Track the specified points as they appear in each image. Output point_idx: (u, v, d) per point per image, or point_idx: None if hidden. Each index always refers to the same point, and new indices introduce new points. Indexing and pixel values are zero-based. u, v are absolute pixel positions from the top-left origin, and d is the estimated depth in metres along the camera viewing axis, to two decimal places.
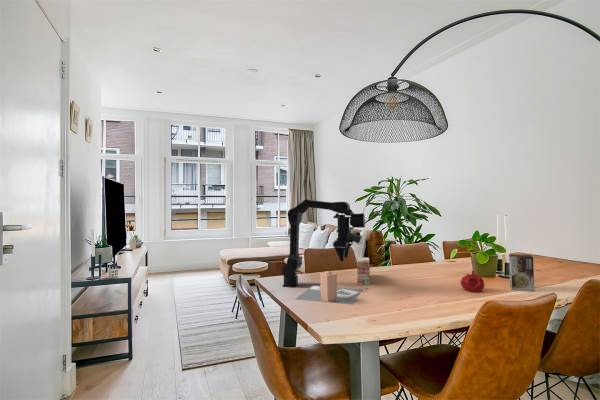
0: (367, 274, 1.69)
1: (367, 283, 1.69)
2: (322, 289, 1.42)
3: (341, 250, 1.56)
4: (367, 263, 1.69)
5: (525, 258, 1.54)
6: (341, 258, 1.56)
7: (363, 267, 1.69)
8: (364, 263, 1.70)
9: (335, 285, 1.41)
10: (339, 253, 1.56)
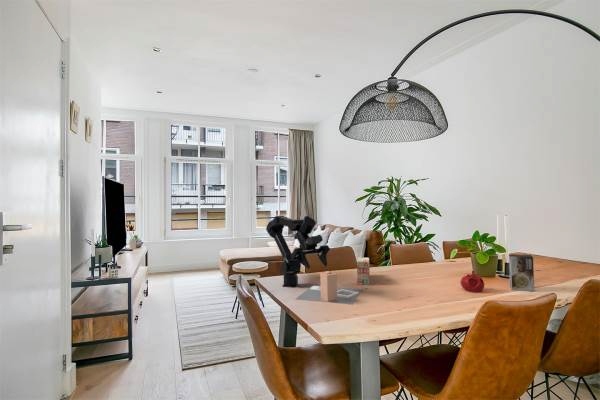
0: (367, 274, 1.69)
1: (367, 283, 1.69)
2: (322, 289, 1.42)
3: (302, 259, 1.49)
4: (367, 263, 1.69)
5: (525, 258, 1.54)
6: (307, 266, 1.47)
7: (363, 267, 1.70)
8: (364, 263, 1.70)
9: (335, 285, 1.41)
10: (303, 262, 1.49)
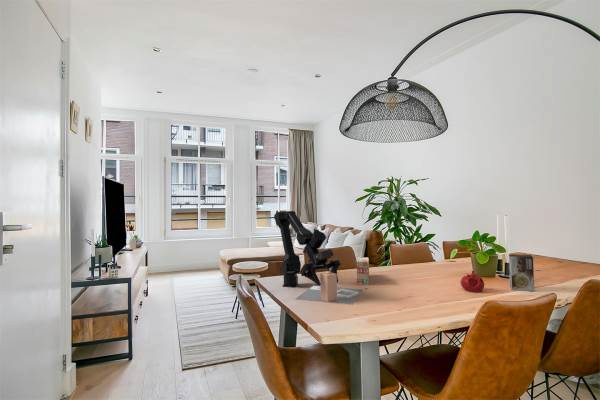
0: (366, 274, 1.70)
1: (366, 283, 1.70)
2: (322, 289, 1.42)
3: (312, 275, 1.42)
4: (366, 263, 1.70)
5: (525, 258, 1.54)
6: (317, 282, 1.40)
7: (363, 267, 1.70)
8: (363, 263, 1.70)
9: (335, 285, 1.41)
10: (313, 279, 1.42)
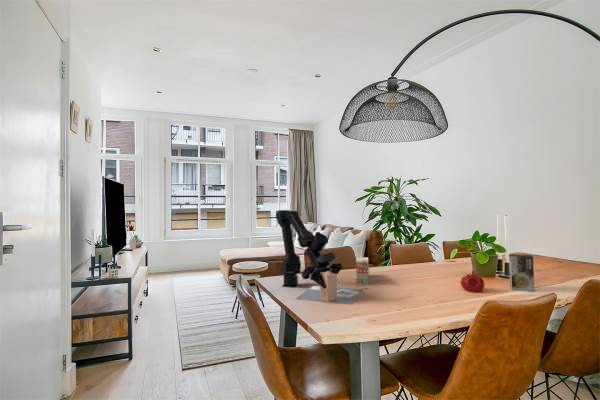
0: (366, 274, 1.70)
1: (366, 283, 1.70)
2: (322, 289, 1.42)
3: (318, 277, 1.42)
4: (366, 263, 1.70)
5: (525, 258, 1.54)
6: (322, 285, 1.40)
7: (362, 267, 1.70)
8: (363, 263, 1.70)
9: (335, 285, 1.41)
10: (318, 281, 1.42)
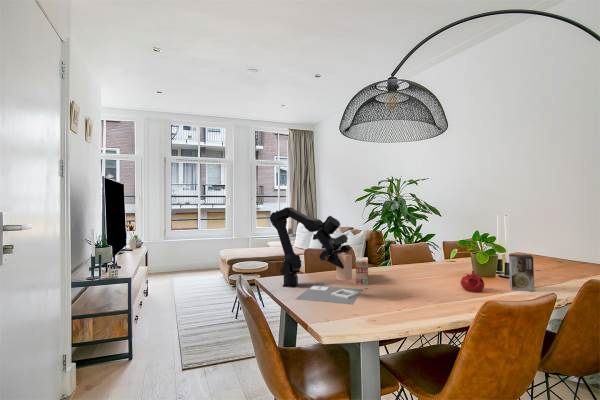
0: (365, 274, 1.70)
1: (366, 283, 1.70)
2: (339, 270, 1.48)
3: (334, 259, 1.48)
4: (365, 263, 1.70)
5: (525, 258, 1.54)
6: (340, 266, 1.46)
7: (362, 267, 1.70)
8: (363, 263, 1.71)
9: (350, 265, 1.49)
10: (335, 263, 1.47)
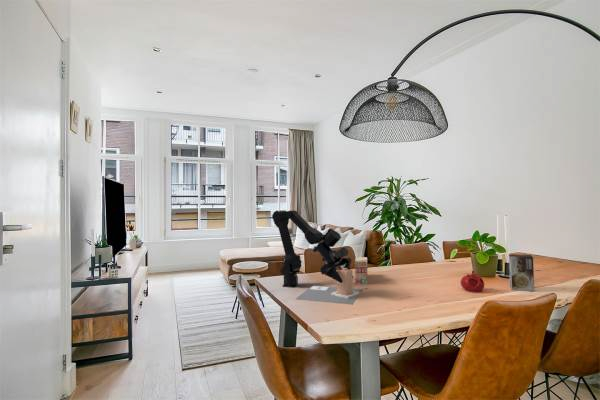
0: (365, 273, 1.71)
1: (365, 282, 1.71)
2: (339, 285, 1.48)
3: (333, 272, 1.47)
4: (365, 262, 1.71)
5: (525, 258, 1.54)
6: (339, 280, 1.45)
7: (361, 267, 1.71)
8: (362, 262, 1.71)
9: (351, 280, 1.49)
10: (334, 276, 1.46)
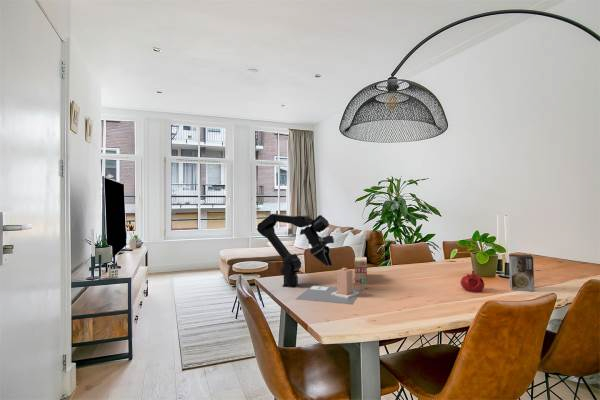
0: (364, 273, 1.71)
1: (364, 282, 1.71)
2: (339, 285, 1.48)
3: (321, 255, 1.55)
4: (364, 262, 1.71)
5: (525, 258, 1.54)
6: (325, 262, 1.54)
7: (361, 267, 1.71)
8: (361, 262, 1.71)
9: (351, 280, 1.49)
10: (321, 259, 1.54)
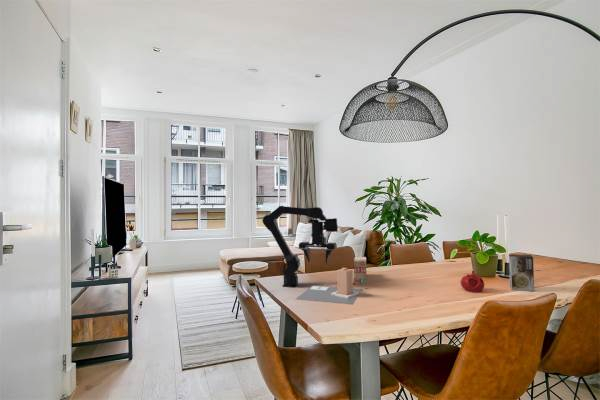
0: (364, 273, 1.71)
1: (364, 282, 1.71)
2: (339, 285, 1.48)
3: (328, 252, 1.67)
4: (364, 262, 1.71)
5: (525, 258, 1.54)
6: (327, 260, 1.67)
7: (360, 267, 1.72)
8: (361, 262, 1.72)
9: (351, 280, 1.49)
10: (328, 255, 1.66)
